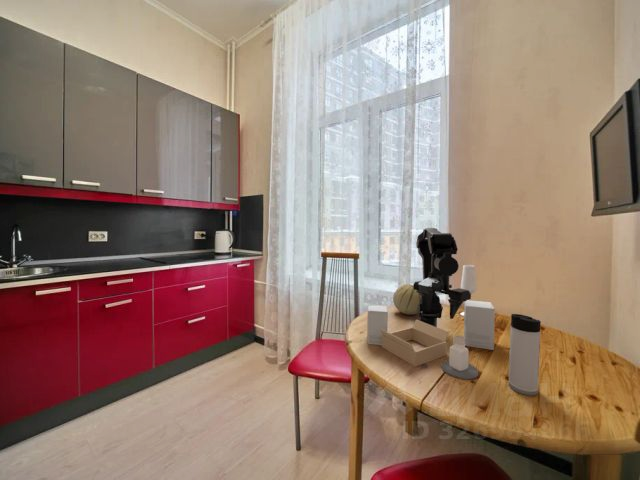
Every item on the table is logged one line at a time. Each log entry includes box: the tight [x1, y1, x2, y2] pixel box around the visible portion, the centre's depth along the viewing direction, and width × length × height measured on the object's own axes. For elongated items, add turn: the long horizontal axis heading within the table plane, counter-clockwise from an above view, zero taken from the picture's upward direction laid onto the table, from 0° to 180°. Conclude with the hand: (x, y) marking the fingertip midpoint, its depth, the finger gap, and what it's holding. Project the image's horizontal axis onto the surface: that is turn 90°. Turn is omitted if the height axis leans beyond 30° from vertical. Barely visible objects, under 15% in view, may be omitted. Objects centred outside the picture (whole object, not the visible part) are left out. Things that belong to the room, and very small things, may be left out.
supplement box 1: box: [366, 305, 389, 346], centre depth 101 cm, size 7×7×13 cm
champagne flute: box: [459, 264, 477, 317], centre depth 130 cm, size 7×7×24 cm
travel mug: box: [508, 313, 542, 397], centre depth 71 cm, size 6×7×20 cm
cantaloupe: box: [392, 283, 421, 316], centre depth 132 cm, size 15×15×15 cm
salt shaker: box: [448, 334, 469, 371], centre depth 81 cm, size 4×4×10 cm
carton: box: [380, 319, 450, 367], centre depth 93 cm, size 19×15×7 cm
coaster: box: [440, 359, 479, 380], centre depth 81 cm, size 10×10×1 cm
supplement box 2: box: [463, 299, 496, 351], centre depth 99 cm, size 9×9×15 cm
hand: (439, 314), depth 92 cm, fingers open, 9 cm apart
